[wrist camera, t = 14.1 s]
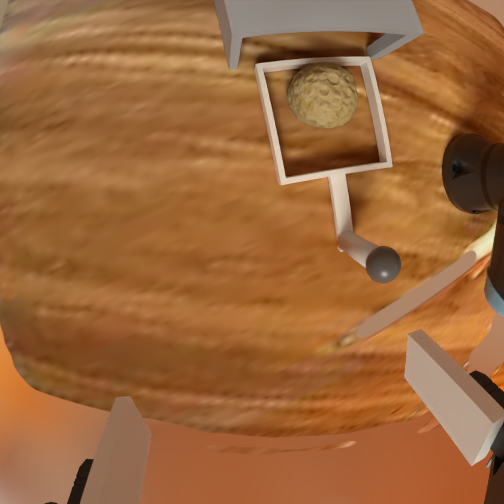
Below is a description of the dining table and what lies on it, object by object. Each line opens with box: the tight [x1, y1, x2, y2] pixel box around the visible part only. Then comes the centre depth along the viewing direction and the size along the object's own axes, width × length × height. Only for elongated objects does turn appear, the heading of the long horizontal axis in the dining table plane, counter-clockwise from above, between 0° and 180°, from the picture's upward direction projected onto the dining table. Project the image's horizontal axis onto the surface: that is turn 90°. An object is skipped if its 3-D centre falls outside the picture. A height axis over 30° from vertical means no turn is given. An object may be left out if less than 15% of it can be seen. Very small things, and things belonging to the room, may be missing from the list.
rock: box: [286, 62, 358, 128], centre depth 39 cm, size 10×11×10 cm
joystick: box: [254, 57, 401, 283], centre depth 36 cm, size 30×18×15 cm, turn 11°
